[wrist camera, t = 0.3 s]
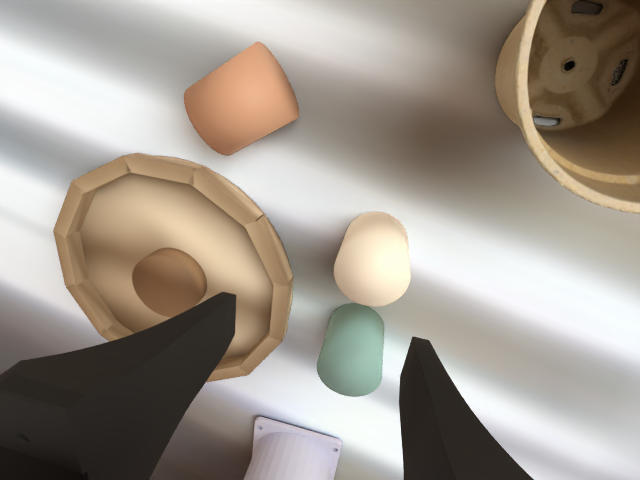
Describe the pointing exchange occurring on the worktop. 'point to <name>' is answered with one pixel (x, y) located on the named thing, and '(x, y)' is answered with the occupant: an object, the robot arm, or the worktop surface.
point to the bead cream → (373, 260)
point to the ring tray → (181, 228)
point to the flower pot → (578, 96)
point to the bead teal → (352, 351)
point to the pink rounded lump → (241, 101)
